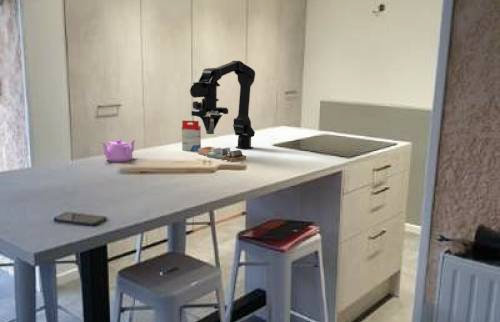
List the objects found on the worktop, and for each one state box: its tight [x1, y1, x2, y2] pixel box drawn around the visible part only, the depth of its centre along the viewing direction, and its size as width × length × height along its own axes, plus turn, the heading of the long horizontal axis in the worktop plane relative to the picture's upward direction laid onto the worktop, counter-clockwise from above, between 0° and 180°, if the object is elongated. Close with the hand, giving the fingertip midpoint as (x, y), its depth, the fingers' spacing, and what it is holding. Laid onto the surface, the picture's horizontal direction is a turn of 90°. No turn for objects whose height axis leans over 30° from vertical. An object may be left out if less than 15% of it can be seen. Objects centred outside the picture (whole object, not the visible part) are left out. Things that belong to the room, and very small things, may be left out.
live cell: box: [226, 149, 243, 158], centre depth 238 cm, size 7×4×4 cm, turn 138°
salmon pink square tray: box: [197, 146, 215, 157], centre depth 249 cm, size 7×7×3 cm
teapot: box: [100, 138, 137, 163], centre depth 232 cm, size 12×14×9 cm
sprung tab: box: [221, 147, 231, 156], centre depth 242 cm, size 5×1×3 cm, turn 138°
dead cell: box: [205, 117, 215, 135], centre depth 246 cm, size 4×4×8 cm
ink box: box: [181, 120, 202, 152], centre depth 257 cm, size 8×5×15 cm, turn 84°
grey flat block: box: [206, 146, 226, 160], centre depth 243 cm, size 10×9×4 cm
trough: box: [221, 154, 247, 162], centre depth 238 cm, size 10×6×2 cm, turn 138°
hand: (210, 130), depth 247 cm, fingers closed on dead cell, 4 cm apart
